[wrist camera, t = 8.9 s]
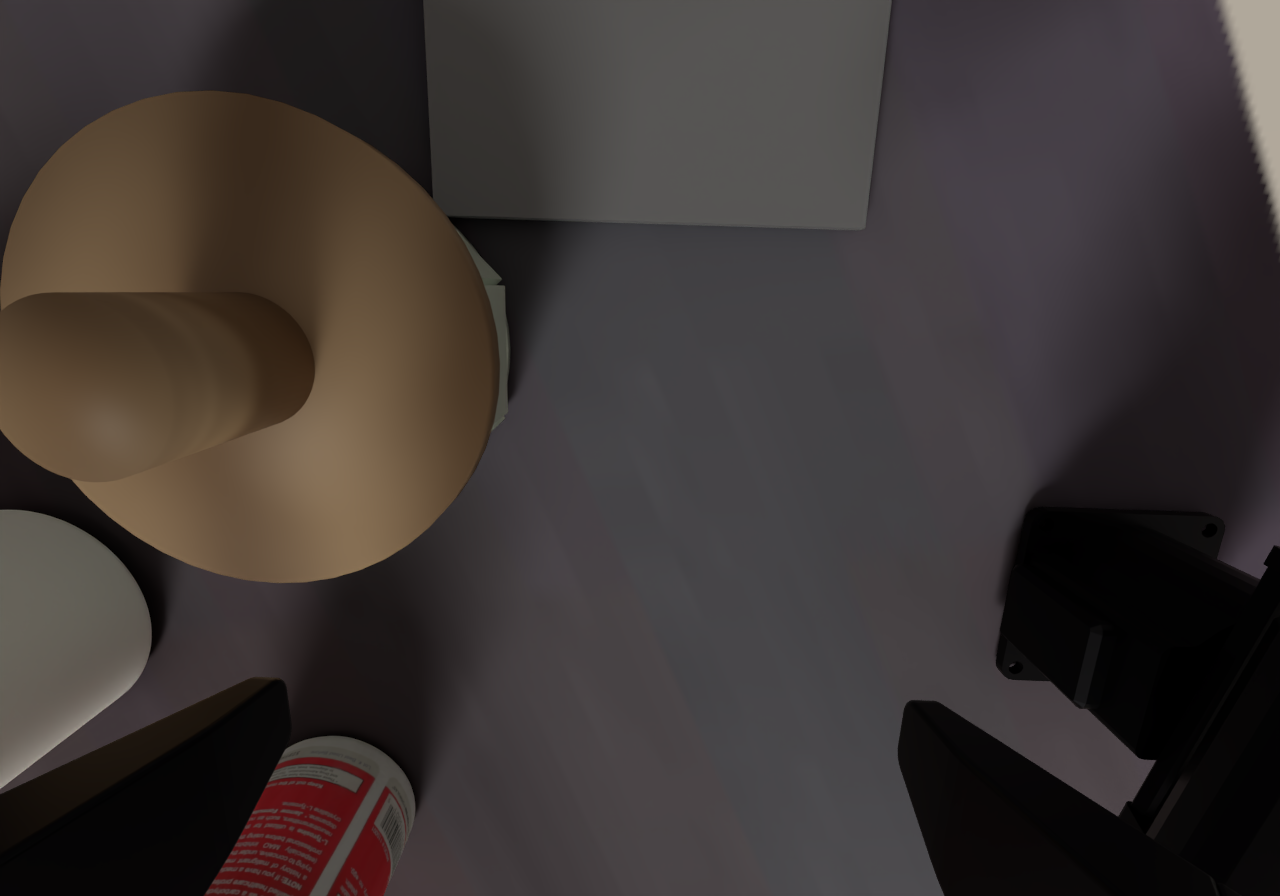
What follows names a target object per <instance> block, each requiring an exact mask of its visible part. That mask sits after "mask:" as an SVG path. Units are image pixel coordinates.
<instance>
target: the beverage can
mask: <svg viewBox="0 0 1280 896" xmlns="http://www.w3.org/2000/svg"><path fill="white" fill-rule="evenodd" d="M151 641H152V628H151V620H150V615H149V611H148V607H147V604H146V601H145V599H144V596H143V594H142V592H141V590H140V588H139V586H138V584H137V582H136V581H135V579H134V577H133V576H132V574H131V573H130V572H129V570H128V569H127V568H126V566H125V565H124V564H123V563H122V562H121V561H120V559H119V558H118V557H117V556H116V555H115V554H114V553H113V552H112V551H111V550H109V549H108V548H107V547H106V546H105V545H104V544H102V543H101V542H100V541H98V540H97V539H96V538H94V537H93V536H91V535H90V534H88V533H87V532H85V531H83V530H81V529H80V528H78V527H76V526H74V525H72V524H70V523H68V522H65V521H63V520H60V519H58V518H55V517H52V516H49V515H45V514H41V513H36V512H31V511H24V510H0V789H1V788H2V787H3V786H5V785H6V784H7V783H8V782H10V781H11V780H12V779H14V778H15V777H16V776H18V775H19V774H20V773H21V772H23V771H24V770H25V769H27V768H28V767H29V766H31V765H32V764H33V763H35V762H36V761H37V760H38V759H40V758H41V757H42V756H44V755H45V754H46V753H48V752H49V751H50V750H51V749H53V748H54V747H55V746H57V745H58V744H59V743H61V742H62V741H63V740H65V739H66V738H67V737H68V736H70V735H71V734H72V733H74V732H75V731H76V730H78V729H79V728H80V727H81V726H83V725H84V724H85V723H87V722H88V721H89V720H91V719H92V718H93V717H95V716H96V715H97V714H98V713H100V712H101V711H102V710H104V709H105V708H106V707H108V706H109V705H110V704H111V703H113V702H114V701H115V700H117V699H118V698H119V697H121V696H122V695H123V694H124V693H125V692H127V691H128V690H129V689H130V688H131V687H132V686H133V685H134V683H135V682H136V681H137V680H138V678H139V677H140V675H141V673H142V671H143V670H144V668H145V665H146V663H147V660H148V657H149V653H150V649H151Z"/></svg>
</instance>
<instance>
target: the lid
mask: <svg viewBox="0 0 1280 896" xmlns="http://www.w3.org/2000/svg"><path fill="white" fill-rule="evenodd" d="M0 301H1V311H0V430H1V431H2V432H3V434H4V435H5V436H6V437H7V438H8V440H9V441H10V442H11V443H12V444H13V445H14V446H15V447H16V448H17V449H18V450H19V451H21V452H22V453H23V454H24V455H25V456H27V457H28V458H29V459H31V460H32V461H33V462H35V463H36V464H38V465H40V466H42V467H43V468H45V469H47V470H49V471H51V472H53V473H56V474H58V475H61V476H64V477H67V478H70V479H71V480H72V481H73V482H74V483H75V484H76V485H77V486H78V487H79V488H80V490H81V491H82V492H83V493H84V494H85V495H86V496H87V497H88V498H89V499H90V500H91V501H92V502H93V503H94V504H96V505H97V506H98V507H99V508H100V509H101V510H102V511H103V512H104V513H105V514H107V515H108V516H109V517H110V518H111V519H113V520H114V521H115V522H117V523H118V524H119V525H121V526H122V527H123V528H125V529H126V530H128V531H129V532H130V533H132V534H133V535H134V536H136V537H137V538H139V539H141V540H143V541H144V542H146V543H148V544H149V545H151V546H153V547H155V548H156V549H158V550H160V551H161V552H163V553H165V554H168V555H170V556H172V557H174V558H177V559H179V560H181V561H183V562H185V563H188V564H190V565H193V566H196V567H199V568H202V569H205V570H208V571H211V572H214V573H217V574H220V575H225V576H230V577H235V578H240V579H244V580H250V581H261V582H272V583H293V582H310V581H316V580H323V579H329V578H335V577H338V576H342V575H345V574H349V573H352V572H355V571H359V570H362V569H364V568H366V567H368V566H371V565H373V564H375V563H377V562H380V561H382V560H384V559H386V558H388V557H389V556H391V555H393V554H394V553H396V552H397V551H399V550H401V549H402V548H404V547H405V546H407V545H409V544H410V543H411V542H412V541H413V540H415V539H416V538H417V537H418V536H419V535H421V534H422V533H423V532H424V531H425V530H427V529H428V528H429V527H430V526H431V525H432V524H433V523H434V522H435V521H436V519H437V518H438V517H439V516H440V515H441V514H442V513H443V512H444V511H445V510H446V509H447V507H448V506H449V505H450V504H451V503H452V502H453V501H454V500H455V499H456V497H457V496H458V495H459V494H460V493H461V491H462V490H463V488H464V487H465V485H466V484H467V482H468V481H469V479H470V478H471V476H472V475H473V473H474V471H475V469H476V467H477V465H478V463H479V461H480V459H481V457H482V455H483V453H484V451H485V448H486V446H487V443H488V439H489V436H490V433H491V430H492V427H493V424H494V420H495V414H496V408H497V402H498V396H499V382H500V357H499V346H498V336H497V330H496V325H495V321H494V316H493V312H492V308H491V303H490V300H489V297H488V295H487V292H486V289H485V286H484V283H483V281H482V278H481V275H480V272H479V270H478V268H477V266H476V264H475V262H474V260H473V258H472V256H471V254H470V252H469V250H468V248H467V246H466V244H465V242H464V241H463V239H462V238H461V236H460V235H459V233H458V232H457V230H456V229H455V227H454V226H453V224H452V223H451V221H450V220H449V218H448V217H447V215H446V214H445V213H444V212H443V210H442V209H441V208H440V207H439V206H438V205H437V203H436V202H435V201H434V200H433V199H432V198H431V196H430V195H429V194H428V193H427V192H426V190H425V189H424V188H423V187H422V186H421V185H420V184H418V183H417V182H416V181H415V180H414V179H413V178H412V177H411V176H410V175H409V174H408V173H407V172H405V171H404V170H403V169H402V168H401V167H400V166H399V165H398V164H396V163H395V162H394V161H392V160H391V159H389V158H388V157H387V156H385V155H384V154H382V153H381V152H380V151H378V150H377V149H376V148H374V147H373V146H371V145H370V144H368V143H366V142H365V141H363V140H361V139H359V138H357V137H355V136H353V135H352V134H350V133H348V132H346V131H344V130H342V129H341V128H339V127H337V126H335V125H333V124H331V123H329V122H327V121H326V120H324V119H322V118H320V117H318V116H316V115H313V114H311V113H308V112H306V111H303V110H300V109H298V108H295V107H293V106H290V105H288V104H285V103H282V102H278V101H274V100H270V99H266V98H262V97H258V96H254V95H249V94H243V93H233V92H222V91H212V90H210V91H190V92H175V93H170V94H165V95H160V96H155V97H151V98H146V99H142V100H140V101H137V102H134V103H132V104H129V105H126V106H124V107H121V108H118V109H116V110H113V111H111V112H109V113H108V114H106V115H104V116H103V117H101V118H99V119H97V120H96V121H94V122H92V123H90V124H89V125H87V126H85V127H84V128H83V129H81V130H80V131H79V132H78V133H77V134H75V135H74V136H73V137H72V138H71V139H69V140H68V141H67V142H66V143H65V144H63V145H62V146H61V147H60V148H59V149H58V150H57V151H56V153H55V154H54V155H53V156H52V157H51V158H50V159H49V161H48V162H47V163H46V164H45V165H44V166H43V167H42V169H41V170H40V171H39V173H38V174H37V176H36V177H35V179H34V181H33V182H32V184H31V186H30V187H29V189H28V190H27V192H26V194H25V195H24V197H23V199H22V201H21V204H20V206H19V209H18V211H17V213H16V216H15V218H14V221H13V223H12V225H11V229H10V233H9V237H8V241H7V245H6V249H5V253H4V257H3V265H2V276H1V286H0Z"/></svg>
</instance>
